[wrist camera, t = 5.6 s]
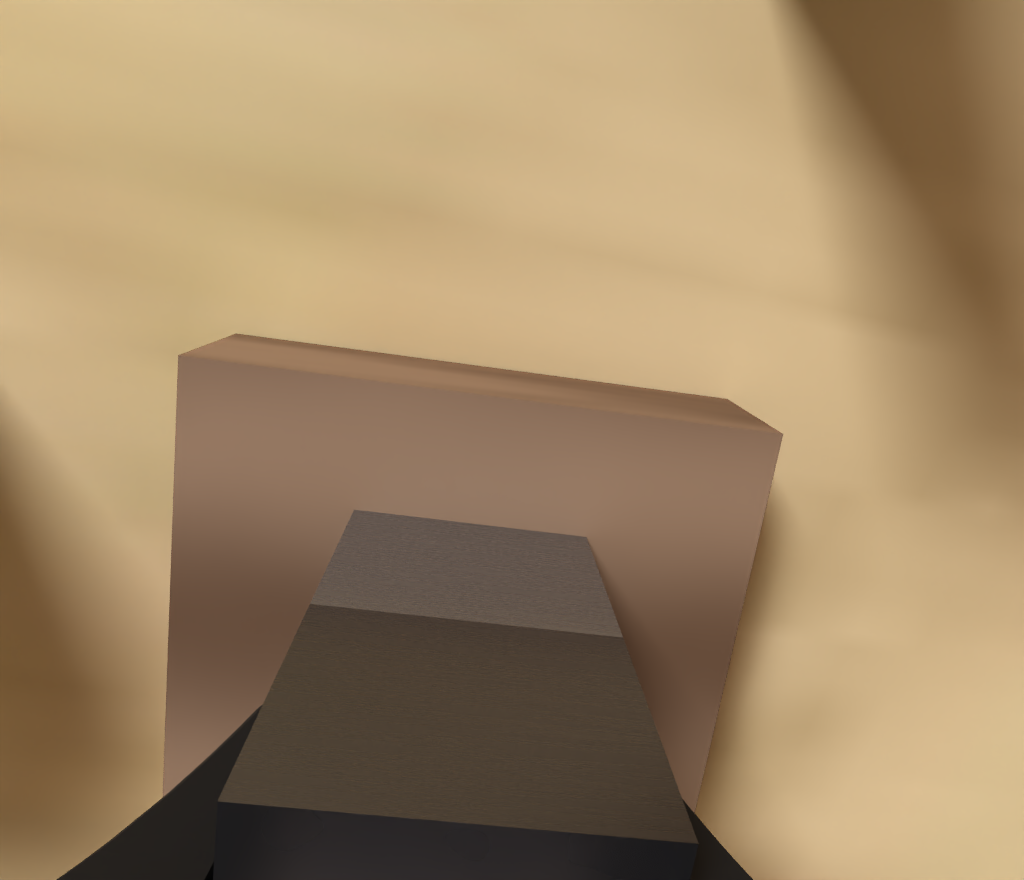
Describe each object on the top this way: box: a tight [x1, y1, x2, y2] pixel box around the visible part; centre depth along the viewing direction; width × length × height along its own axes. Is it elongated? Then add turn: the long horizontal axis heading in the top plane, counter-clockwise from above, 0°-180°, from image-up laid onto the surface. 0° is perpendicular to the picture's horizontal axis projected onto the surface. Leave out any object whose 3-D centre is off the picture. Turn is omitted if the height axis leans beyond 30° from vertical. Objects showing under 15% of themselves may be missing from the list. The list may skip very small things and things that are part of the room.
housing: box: [213, 510, 699, 880], centre depth 10 cm, size 6×4×8 cm, turn 172°
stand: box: [163, 334, 783, 813], centre depth 15 cm, size 10×10×3 cm
